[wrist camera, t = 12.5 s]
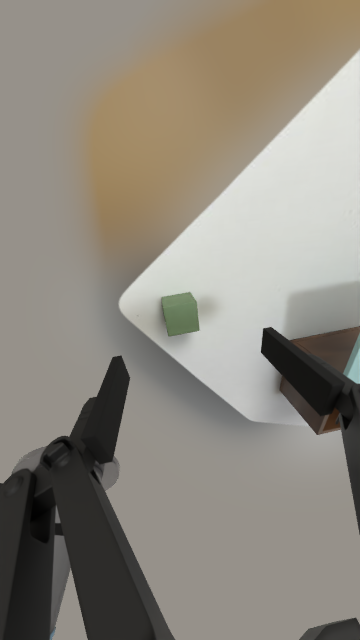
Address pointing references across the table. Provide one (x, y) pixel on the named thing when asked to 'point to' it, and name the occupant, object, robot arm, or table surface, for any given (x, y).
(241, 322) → the table surface
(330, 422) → the case
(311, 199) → the table surface
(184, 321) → the block
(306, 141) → the table surface
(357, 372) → the light blue board
